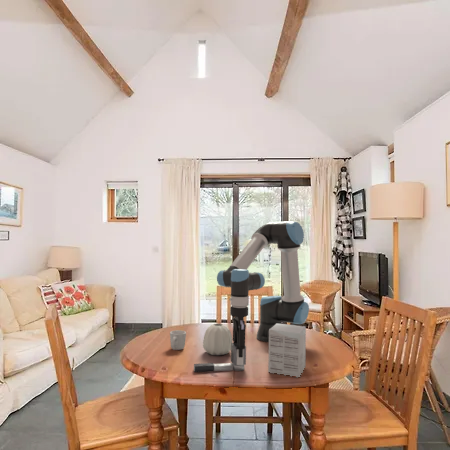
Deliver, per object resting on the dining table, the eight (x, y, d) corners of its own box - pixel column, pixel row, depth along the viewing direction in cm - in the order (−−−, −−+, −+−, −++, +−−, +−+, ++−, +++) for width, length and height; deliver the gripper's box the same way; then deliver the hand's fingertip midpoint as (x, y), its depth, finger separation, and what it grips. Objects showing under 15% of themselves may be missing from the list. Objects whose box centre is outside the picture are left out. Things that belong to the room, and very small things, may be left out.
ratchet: (242, 366, 152) (242, 352, 152) (245, 370, 147) (245, 355, 147) (193, 368, 148) (193, 354, 148) (194, 373, 143) (195, 358, 143)
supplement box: (275, 362, 157) (276, 322, 158) (305, 367, 152) (306, 326, 153) (267, 372, 145) (268, 329, 146) (300, 378, 140) (300, 333, 141)
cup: (180, 353, 168) (181, 336, 168) (164, 352, 169) (165, 335, 170) (187, 346, 178) (188, 330, 179) (172, 345, 180) (173, 329, 180)
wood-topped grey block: (242, 360, 152) (243, 342, 152) (245, 364, 147) (246, 346, 147) (230, 361, 151) (231, 343, 151) (233, 365, 146) (233, 346, 146)
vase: (210, 359, 160) (211, 329, 161) (198, 350, 172) (199, 322, 173) (237, 355, 166) (238, 326, 167) (223, 347, 179) (224, 320, 179)
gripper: (226, 302, 158) (225, 355, 157) (235, 310, 140) (234, 370, 139) (242, 302, 160) (241, 355, 158) (253, 310, 142) (252, 369, 141)
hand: (238, 362), depth 149 cm, fingers closed on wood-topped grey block, 5 cm apart
